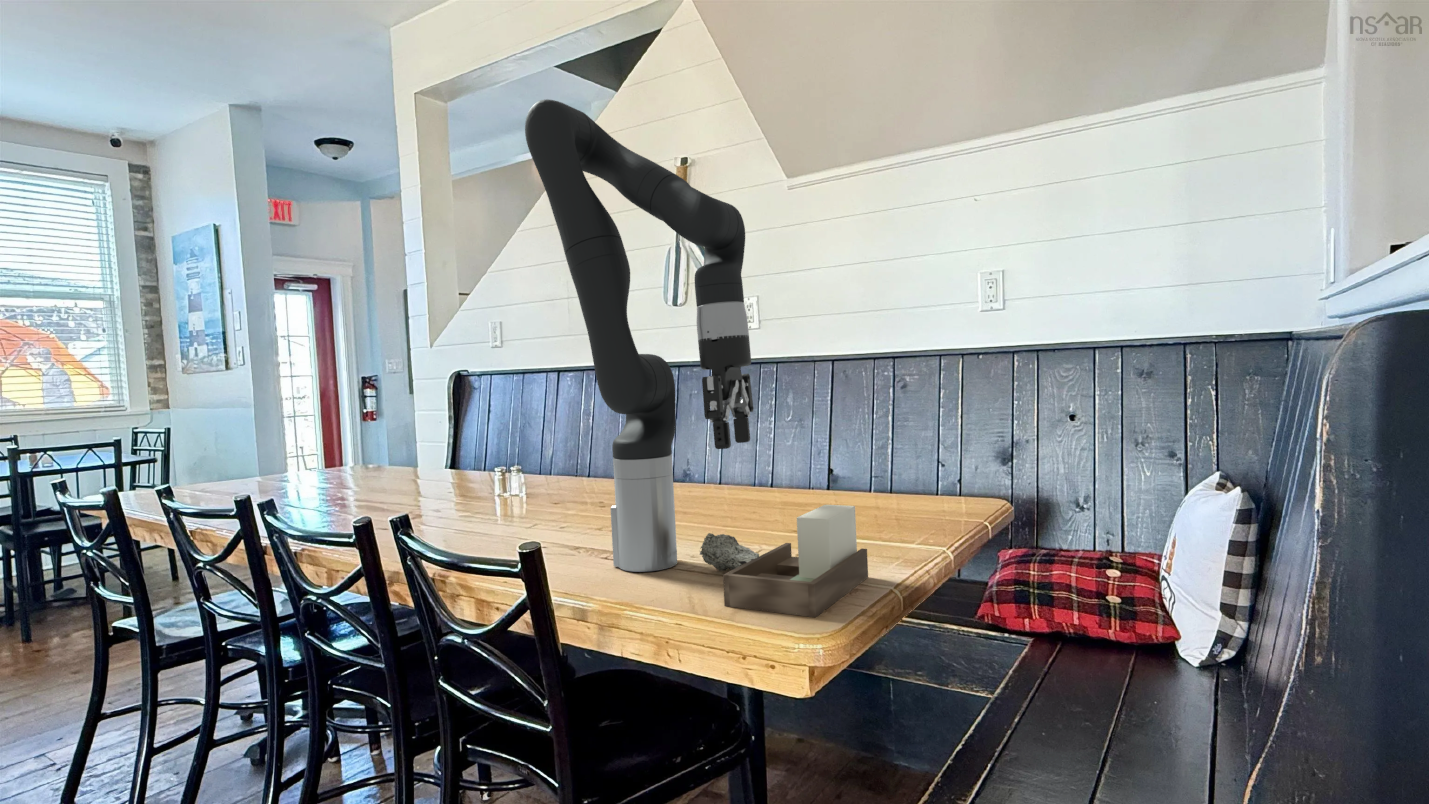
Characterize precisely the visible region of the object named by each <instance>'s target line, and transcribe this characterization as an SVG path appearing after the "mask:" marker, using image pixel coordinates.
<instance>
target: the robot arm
mask: <svg viewBox="0 0 1429 804" xmlns="http://www.w3.org/2000/svg"><path fill="white" fill-rule="evenodd" d="M524 125H525V126H524V133H525V134H524V135H525V141H526V144H527V147H528V150H529V154H530V155H531V158H532V161H533V162H534V165H535V168H536V171H537V173H538V176H539V177H540V180H541V182H542V184H543V187H544V189H545V192H546V196H547V198H548V201H549V204H550V209H551V211H552V214H553V218H554V221H555V224H556V226H557V230H558V232H559V236H560V240H561V244H562V247H563V252H564V256H565V258H566V259H565V260H566V263H567V265H568V269H569V273H570V275H571V279H572V281H573V284H574V287H575V292H576V293H577V298H578V302H579V305H580V308H581V313H582V317H583V320H584V323H585V326H586V330H587V335H588V340H589V345H590V349H591V356H592V361H593V367H594V373H595V377H596V381H597V387H598V389H599V393H600V395H601V398H602V399H603V402H604V403H605V405H606V406H607V407H608V408H610V410H612V411H613V412H615V413H617V414H620V415H625V424H624V426H623V429H622V431H621V432H620V433H619V434H618V436H616V437H615V438H614V439H613V441H612V449H611V451H612V464H613V466H612V467H613V479H614V480H613V482H614V483H613V484H614V501H615V502H614V503H615V504H614V505H611V507H610V524H611V527H610V528H611V540H612V542H611V543H612V544H611V546H612V561H613V567H616V568H619V569H621V570H622V571H626V572H639V573H641V572H645V573H646V572H655V571H662V570H666V569H669V568H670V569H671V568H672V567H674V566H676V565H677V564H678V549H677V529H676V526H677V525H676V511H675V509H676V507H675V491H674V490H675V489H674V473H673V472H674V471H673V455H672V453H673V450H672V448H673V441H674V438H675V435H676V424H677V423H676V419H677V416H676V412H677V411H676V408H677V407H676V398H677V397H676V386H675V385H676V384H675V377H674V374H673V371H672V369H671V367H670V364H669V363H668V362H667V361H666V360H665V359H664V358H662V356H659V355H655V354H652V353H639V352H638V349H637V347H636V344H635V342H634V338H633V336H632V332H631V329H630V324H629V320H628V300H629V294H630V286H631V268H630V262H629V259H628V256H627V252H626V249H625V246H624V243H623V239H622V236H621V234H620V231H619V229H618V226H617V225H616V223H615V221H614V219H613V218H612V216H611V214H610V213H609V212H608V210H607V209H606V207H605V206H604V204H603V202H601V200H600V199H599V198H598V196H597V194H596V193H595V192H594V190H593V189H592V187H591V185H590V183H589V182H588V180H587V178H586V175H585V173H588V174H590V175H593V176H595V177H598V179H599V178H600V179H602V180H603V181H605V182H606V183H608V184H609V185H611V186H612V187H614V188H615V190H617V191H618V192H619V194H621V195H622V196H623V197H624V199H627V200H628V201H629V202H630V203H632V204H633V205H635V206H636V207H638V208H640V209H641V210H642V211H644V212H646V213H648V214H649V215H651V216H652V217H654V218H656V219H658V220H659V221H661V222H663V223H665V224H666V226H668V227H669V228H670V229H671V230H673V232H675V233H676V234H678V235H679V236H680V237H682V238H683V239H685V240H686V241H688V242H690V243H692V244H694V245H696V246H699V247H703V248H704V257H703V265H702V266H700V267H698V268H697V270H696V271H695V273H694V292H695V301H696V303H695V304H696V333H697V343H698V351H699V352H698V353H699V363H700V368H701V370H704V371H709V370H710V371H711V375H708V376H703V377H702V378H701V384H702V398H703V399H702V400H703V412H704V413H703V414H704V418H705V420H709V421H710V424H711V423H712V431H713V439H714V440H713V441H714V447H715V449H717V450H725V449H727V450H728V449H730V448H731V446H732V442H731V441H732V440H731V431H730V430H731V429H730V422H729V419H730V412H731V415H732V417H733V419H732V420H733V429H734V441H735V442H736V443H737V444H739V443H740V444H741V443H749V442H750V441H751V433H750V422H749V418H750V416H751V413H753V412H754V408H755V407H754V402H753V401H754V400H753V393H752V383H751V375H750V373H742V369H741V368H743V367H748V366H751V364H752V355H751V343H750V332H749V324H748V323H749V321H748V315H747V310H746V306H745V297H744V287H743V286H744V285H743V279H742V270H743V265H744V258H745V246H746V229H745V228H746V227H745V223H744V219H743V216H742V214H741V212H740V211H739V210H738V208H737V207H736V206H734V205H732V204H730V203H727V202H724V201H722V200H720V199H717V198H715V197H712V196H711V195H708V194H706V193H704V192H702V191H700V190H698V189H697V188H694V187H692V186H691V185H690V183H689V182H687V181H686V180H685V179H683V178H682V177H681V176H679V175H677V174H676V173H674V172H672V171H671V170H669V169H667V168H665V167H664V166H662V165H660V164H659V163H656V162H655V161H652V160H650V159H648V158H646V157H644V156H643V155H640V154H638V153H636V152H634V151H632V150H630V149H629V148H628V147H626V146H624V145H623V144H621V143H620V142H619V141H617V140H616V139H615V138H614V137H612V135H610V134H609V133H607V131H605V130H604V129H603V128H602V127H601V126H600V125H599V124H597V123H596V122H595V121H594V120H593V118H591V117H589V116H588V114H586V113H585V112H583V111H581V110H578V109H577V108H575V107H572V106H570V105H568V104H566V103H564V102H561V101H558V100H553V99H548V98H547V99H541V100H538V101H537V102H535V103H534V104H533V105H532V106H530V109H529V110H528V112H527V115H526V118H525V123H524Z"/></svg>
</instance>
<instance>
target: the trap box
mask: <svg viewBox="0 0 1429 804" xmlns="http://www.w3.org/2000/svg"><path fill="white" fill-rule="evenodd" d="M792 554H793V553H792V543H791V542H785V543H783V544H781V545H779V546H777V547H775V548H774V549H773V548H772V549H771V550H769V551H768V552H765V553H763V554H761V555H759V557H757V558H755V559H753V560H751V561H749V562H747V563H745V564H743V565H741V566H739V567H737V568H735V569H731V570H729V571H728V572H726V573H724V574H722V579H723V582H722V585H723V600H724V607H731V608H739V609H747V610H753V611H762V612H763V611H764V612H768V613H769V612H770V613H779V614H787V615H795V616H803V617H810V618H817V617H818V616H819V615H821V614H822V613H823V612H824V610H825V609H826V610H827V609H829V607H831V606H833V605H834V604H836V602H838V601H839V600H840V599H842V598H843V597H844V596H845V595H847V594H848V593H850V592H851V591H852V590H854V589H855V588H856V587H857V586H859V585H860V584H861V583H863V582H864V581H865V580H867V579H868V578H869V566H868V565H869V564H868V563H869V562H868V560H869V559H868V549H867V548H860V549H859V550H858V549H857V552H855V553H854V554H852V555H851V556H849V557H848V558H846V559H845V560H843V561H842V562H840V563H839V564H837V565H836V566H834V567H832V568H831V569H829V570H828V571H826V572H825V573H823V574H822V575H820V576H819V577H817V578H816V579H813V578H803V577H799V558H798V556H792ZM826 610H825V611H826Z"/></svg>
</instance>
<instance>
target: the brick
mask: <svg viewBox="0 0 1429 804" xmlns="http://www.w3.org/2000/svg"><path fill="white" fill-rule="evenodd" d="M856 517H857V516H856V505H841V504H840V505H839V504H836V505H835V504H823V505H821V506H819V507H816V508H815V509H812V510H811V511H808V512H805V513H804V514H802V515H799V516H797V517H796V530H797V534H796V535H797V551H798V552H797V553H798V554H797V555H798V556H797V557H798V558H799V577H803V578H813V579H816V578H817V577H819V576H820V575H822V574H823V573H825V572H826V571H828V570H829V569H831V568H832V567H834V566H836V565H837V564H839V563H840V562H842V561H843V560H845V559H846V558H848V557H849V556H851V555H852V554H854V553H855V552H857V551H858V545H857V544H858V543H857V523H856V520H857V519H856Z"/></svg>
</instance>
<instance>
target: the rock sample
mask: <svg viewBox="0 0 1429 804" xmlns="http://www.w3.org/2000/svg"><path fill="white" fill-rule="evenodd" d="M699 555H700V556H702V558H703V561H704V563H706V564H708V565H709V566H713V567H714V568H715V569H716V570H717V571H719V572H724V571H726V570H734V569H735V568H737V567H739V566H741V565H743V564H745V563H747V562H749V561H751V560H753V559H755V558H757V557H759V556H760V554H759V553H758V552H755V551H753V550H752V549H750V548H749V547H746V546H744V545H742V544H739V542H738V540H737V539H736V537H735V536H732V535H730V534H725V533H722V534H716V535H715V534H714V533H711V532H709V533H707V535H706V536H705V537H704V539H703V542H702V545H701V546H700V548H699Z"/></svg>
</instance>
